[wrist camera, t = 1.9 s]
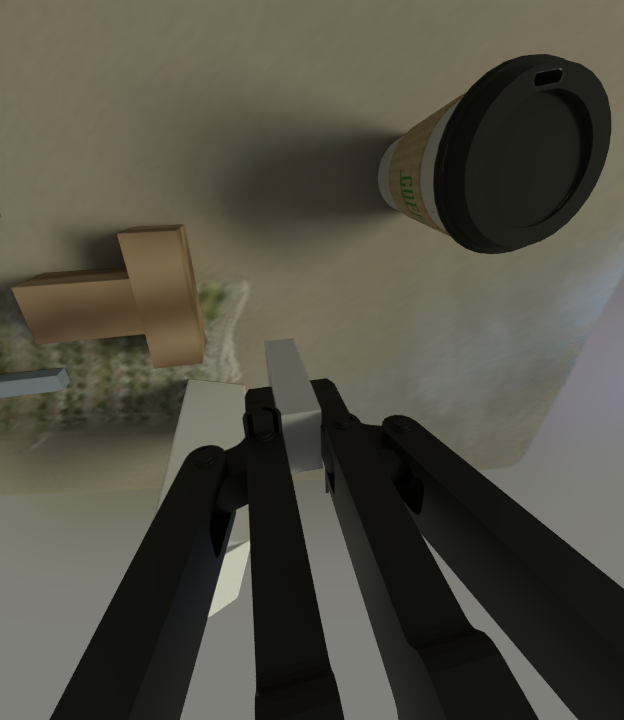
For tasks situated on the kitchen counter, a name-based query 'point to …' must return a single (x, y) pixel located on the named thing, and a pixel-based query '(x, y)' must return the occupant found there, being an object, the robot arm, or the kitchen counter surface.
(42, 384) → the t bay
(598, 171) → the coffee cup
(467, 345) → the kitchen counter surface
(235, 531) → the milk
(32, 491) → the kitchen counter surface
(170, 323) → the t block
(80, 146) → the kitchen counter surface
